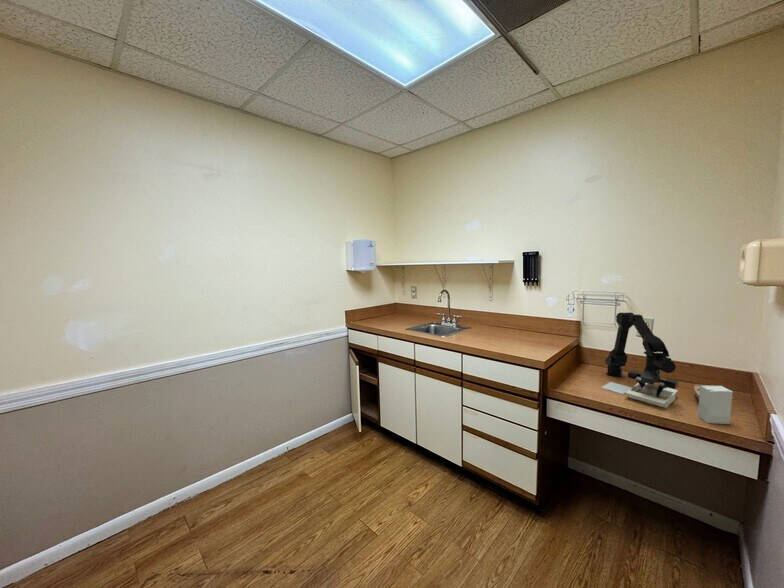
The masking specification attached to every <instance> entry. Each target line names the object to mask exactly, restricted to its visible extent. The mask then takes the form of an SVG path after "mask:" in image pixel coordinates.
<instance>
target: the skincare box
mask: <svg viewBox="0 0 784 588" xmlns="http://www.w3.org/2000/svg"><path fill="white" fill-rule="evenodd" d="M733 393H734V392H733V390H730V389H729V388H726V387H725V386H723V385H708V386H700V397H699V399H698V411H697V417H698V418H700V420H702V421H704V422H705V423H707V424H721V425H722V424H723V425H730V424H731V413H732V402H733Z"/></svg>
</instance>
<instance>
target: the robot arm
mask: <svg viewBox="0 0 784 588" xmlns="http://www.w3.org/2000/svg"><path fill="white" fill-rule="evenodd" d="M615 322H616V324H617V326H618V328H617V333H616V337H615V343H614V347H613V349H612V350H610V352H609V353H608V356H607V357H606V358H605V360H604V362H605V363H604V364H606V365H607V371H606V375H608V376H610V377H611V376H612V377H613V378H614V377H616V378H621V377H622V376H623V373H624V372H623V371H624V368H623V367H625V366H626V363H627V362H628V358H629V357H628V355H627V354H626V352H625V350H626V345H627V341H628V335H629V332H630V329H631V328H632V327H633V326H634V328H635V329H636V331H637V333H638V334H639V336H640V338H641V339H642V344H641V345H642V346H643V348H644V350H645V351H644V352H643V354H644V355H645V367H644V370H643V372H642V373H641V371H638V370H634V369H632V370H630V371H629V372H628V373H627V378H629V379H632V380H634V381H635V382H637V383H639V384H640V386H641V389H642V388H643V387H644V386H645V385H646V383H648V384H651V385H653V384H656V383H657V384H658V385H659V386H658V392H657V398H658V397H659V395H660V394H661V392H662V390H663V389H664V388H671V389H675V390H676V389H677V388H678V387H679V381H678V379H677V380H676V379H672V378H666V379H662V378H661V372H664V373H665V374H670V373H673V372H675V370H676V368H677V365H676V364H675V363H674V361H672V358H671V357H670V353H669V350H668V348H667V346H666V345H665V343H664V341H663V340H662V339H661V338H660V337H658V336H656V335H655V334H654V333H653V331H652V330H651V329H650V328H649V326H648V325H647V323H646V321H645V320H644V317H643V314H635V313H633V312H618V313H617V314H616V316H615Z"/></svg>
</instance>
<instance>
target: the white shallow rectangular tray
mask: <svg viewBox="0 0 784 588" xmlns="http://www.w3.org/2000/svg"><path fill="white" fill-rule="evenodd" d="M646 384H648V383H646ZM638 391H642V389H641V386H640V384H639V383H638V382H637V383H636V384H635V385H634V386H631V388H630V389H629V390H628V391H626V392H625V393H624V394H627V397H628V398H631V399H634V400H638V401H640V402H644V403H648V404H651V405H655V406H658V407H661V408H665V409H667V408H668V407H669V406H670V405H671V404H672V403H673V402H675V400H676V393H678V391H679V390H678V389H676V388H675V389H672V388H668V387H667V388H664V389H663V390H662V392H661V395H660V398H656V397H653V396H649V395H645V394H642V393H641V392H638ZM661 397H663V398H666V399H663V398H661Z"/></svg>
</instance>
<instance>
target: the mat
mask: <svg viewBox="0 0 784 588" xmlns="http://www.w3.org/2000/svg"><path fill="white" fill-rule="evenodd" d="M600 388H601V389H603V390H605V391H610V392H613V393H616V394H620V395H624V394H626V393H625V392H626V391H628V390H629V389H630V388H632V386H627V385H624V384H620V383H616V382H614V381H613V382H612V381H609V382H608V383H606V384H604V385H603V386H601V387H600Z"/></svg>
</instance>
